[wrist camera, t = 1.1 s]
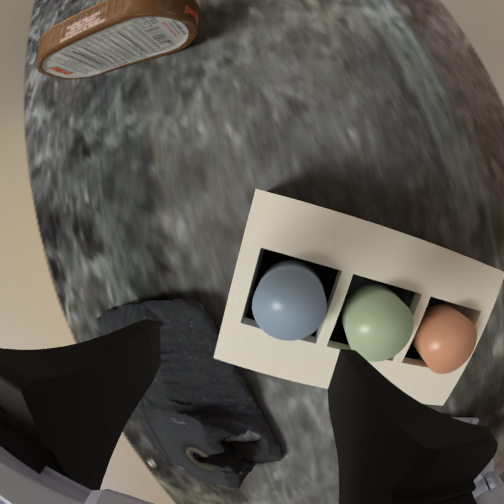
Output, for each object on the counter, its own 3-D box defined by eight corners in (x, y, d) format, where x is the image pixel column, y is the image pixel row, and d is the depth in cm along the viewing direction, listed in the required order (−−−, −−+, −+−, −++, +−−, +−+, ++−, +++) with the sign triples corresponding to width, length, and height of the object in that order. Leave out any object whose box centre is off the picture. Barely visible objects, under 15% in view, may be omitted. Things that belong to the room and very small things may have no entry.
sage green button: (407, 292, 17) (423, 306, 14) (385, 346, 18) (396, 366, 15) (353, 276, 18) (362, 289, 15) (332, 333, 18) (337, 354, 16)
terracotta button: (466, 309, 17) (485, 323, 14) (444, 357, 17) (459, 376, 15) (425, 297, 17) (443, 312, 14) (403, 349, 18) (415, 370, 15)
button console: (468, 257, 20) (505, 272, 14) (421, 370, 22) (442, 405, 17) (265, 191, 22) (255, 188, 16) (230, 325, 24) (213, 358, 18)
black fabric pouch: (232, 278, 24) (217, 297, 19) (287, 460, 27) (285, 492, 22) (91, 307, 26) (62, 323, 22) (168, 461, 29) (155, 486, 25)
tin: (211, 24, 20) (178, -32, 11) (211, 52, 20) (174, -2, 12) (76, 66, 22) (23, 41, 14) (72, 91, 22) (15, 70, 14)
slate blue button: (330, 270, 18) (336, 282, 15) (310, 328, 18) (312, 348, 16) (268, 252, 18) (262, 261, 15) (251, 311, 19) (244, 329, 16)
